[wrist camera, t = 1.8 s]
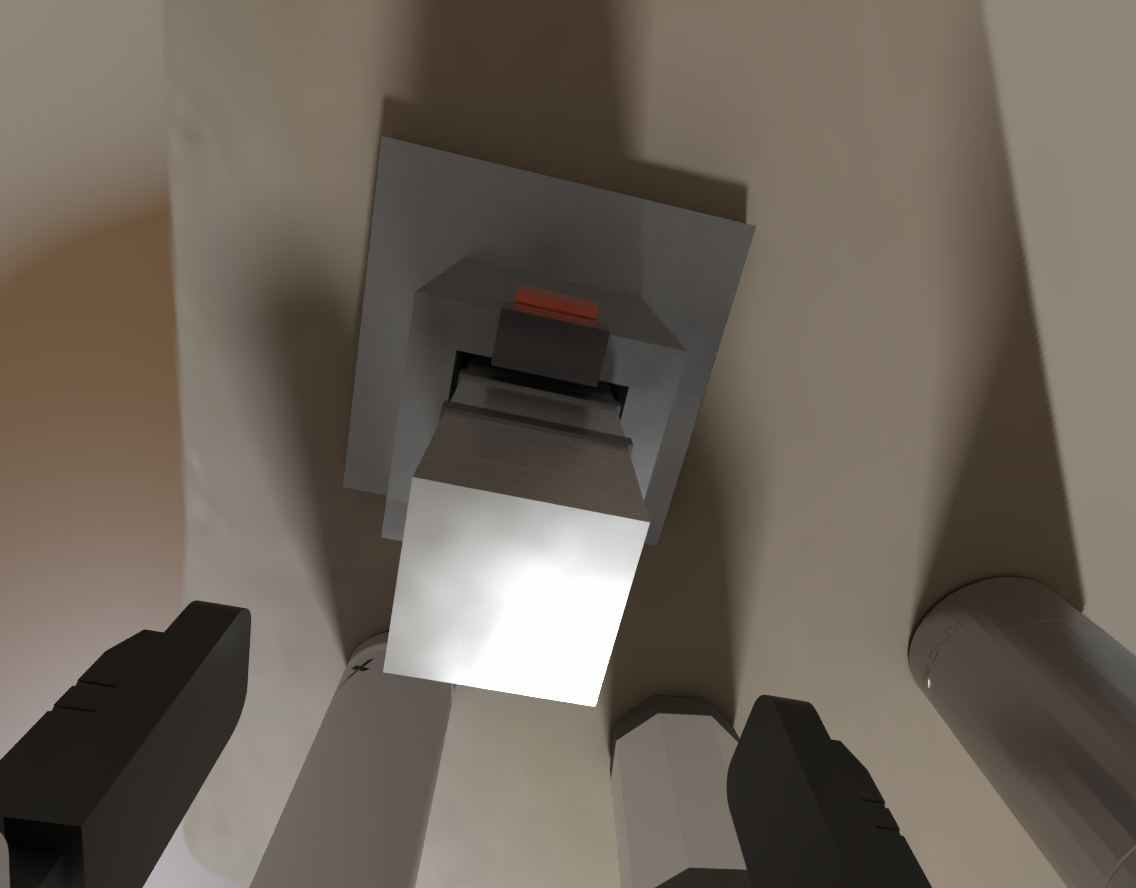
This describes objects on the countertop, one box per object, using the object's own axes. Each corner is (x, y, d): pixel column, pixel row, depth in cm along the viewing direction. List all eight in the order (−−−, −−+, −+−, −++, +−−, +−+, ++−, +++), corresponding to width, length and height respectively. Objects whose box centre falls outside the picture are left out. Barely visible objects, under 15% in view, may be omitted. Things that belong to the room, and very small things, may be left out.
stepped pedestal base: (746, 224, 29) (886, 246, 17) (652, 532, 35) (707, 717, 22) (390, 138, 28) (258, 93, 15) (351, 475, 33) (232, 640, 21)
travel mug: (342, 623, 36) (121, 1073, 18) (460, 633, 37) (364, 1084, 18) (342, 710, 39) (145, 1192, 20) (453, 719, 39) (361, 1199, 20)
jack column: (596, 329, 29) (656, 518, 12) (573, 425, 30) (598, 710, 14) (494, 306, 28) (407, 471, 12) (476, 405, 30) (377, 674, 13)
